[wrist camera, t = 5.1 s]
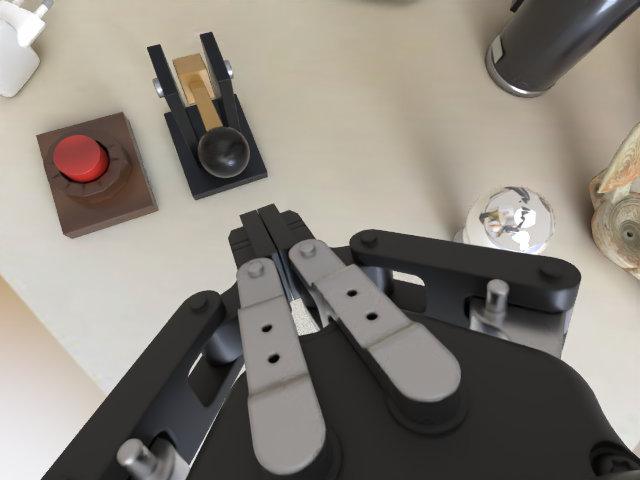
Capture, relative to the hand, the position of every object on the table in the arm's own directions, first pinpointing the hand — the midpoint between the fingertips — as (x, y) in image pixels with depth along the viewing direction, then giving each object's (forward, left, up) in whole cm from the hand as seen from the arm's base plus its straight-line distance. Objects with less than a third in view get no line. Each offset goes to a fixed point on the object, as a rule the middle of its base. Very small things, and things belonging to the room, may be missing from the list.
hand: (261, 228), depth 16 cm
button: (-4, -21, -20) cm, 29 cm away
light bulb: (-13, +17, -23) cm, 31 cm away
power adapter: (-13, -35, -23) cm, 44 cm away
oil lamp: (-21, +34, -23) cm, 46 cm away
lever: (-8, -8, -11) cm, 15 cm away
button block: (-4, -21, -23) cm, 31 cm away
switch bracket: (-12, -12, -23) cm, 28 cm away
